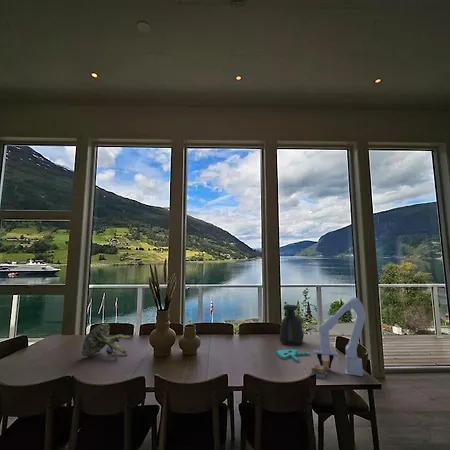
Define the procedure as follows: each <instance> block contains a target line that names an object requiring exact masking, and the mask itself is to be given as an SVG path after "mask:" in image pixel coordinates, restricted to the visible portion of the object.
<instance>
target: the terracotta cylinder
mask: <svg viewBox="0 0 450 450" xmlns="http://www.w3.org/2000/svg"><path fill="white" fill-rule="evenodd" d="M322 366H325V372H330V371H331V368H330V367H329V366H330V362H329V360H328V359H324V360H323V359H322Z"/></svg>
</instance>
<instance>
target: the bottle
mask: <svg viewBox="0 0 450 450" xmlns="http://www.w3.org/2000/svg"><path fill="white" fill-rule="evenodd" d="M283 310H284V311H287V312H286V315H285V317H284V318H283V319H282V320H281V324H280V330H279V337H278V338H279V341H280V343H281V344H283V345H290V346H291V345H292V346H300V345H302V343H303V341H304V330H303V324H302V322H301V319H300V318H299V317H298V316H297V315H296V312H295V311H296V310H298V305H296V304H285V305H283Z"/></svg>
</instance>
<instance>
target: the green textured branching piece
mask: <svg viewBox="0 0 450 450" xmlns="http://www.w3.org/2000/svg"><path fill="white" fill-rule="evenodd" d="M110 327H111V326H110V324H109V323H107V322H105V323H104V322H103V323H101V324H98V325H96V326H95V327H94V328H93V329H91V330H90V331H89V332H88V333H87V335H86V337H85V338H84V341H83V344H82V351H81V354H82V356H83V357H91V356H92V357H93V356H94V355H96V354H97V353H99V352H100V351H101V350H102V349H103V348H105V347H106V346H107V348H106V351H105V352H106V354H107V355H108V356H109V355H111V356H114V359H115V360H116V361H118V358H119V356H118V354H117V351H118V352H121V353H122V354H123V355H125V356H126V355H127V356H128V352H127V351H126V350H125V349H124V348H122V347H121V346H119V345H117V343H120V340H121V339H124V340H131V339H132V338H131V335H127V334H123V333H121V334H116V335H113V336H111V337H109V335H110V330H111V328H110ZM116 342H117V343H116Z"/></svg>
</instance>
